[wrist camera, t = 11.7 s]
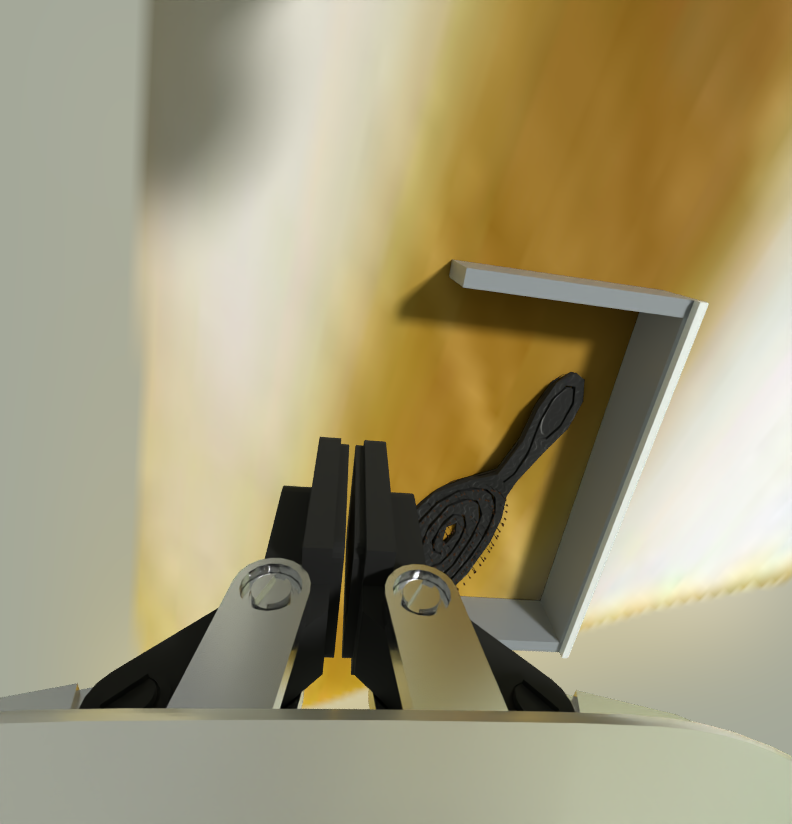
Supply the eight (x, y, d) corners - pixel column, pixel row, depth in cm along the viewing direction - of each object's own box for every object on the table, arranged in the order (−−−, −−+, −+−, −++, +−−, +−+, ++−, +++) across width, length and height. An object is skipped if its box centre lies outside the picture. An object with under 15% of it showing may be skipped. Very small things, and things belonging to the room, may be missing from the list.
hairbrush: (630, 410, 37) (445, 627, 43) (606, 395, 40) (438, 598, 46) (552, 354, 35) (369, 592, 41) (533, 343, 38) (367, 564, 44)
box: (452, 259, 34) (468, 268, 29) (662, 290, 36) (713, 303, 31) (390, 601, 46) (394, 650, 41) (548, 610, 48) (571, 658, 43)
